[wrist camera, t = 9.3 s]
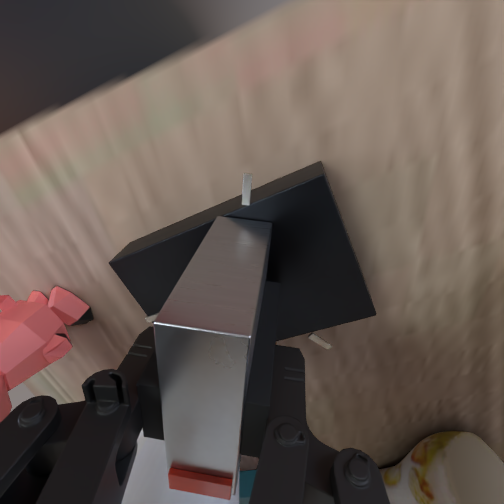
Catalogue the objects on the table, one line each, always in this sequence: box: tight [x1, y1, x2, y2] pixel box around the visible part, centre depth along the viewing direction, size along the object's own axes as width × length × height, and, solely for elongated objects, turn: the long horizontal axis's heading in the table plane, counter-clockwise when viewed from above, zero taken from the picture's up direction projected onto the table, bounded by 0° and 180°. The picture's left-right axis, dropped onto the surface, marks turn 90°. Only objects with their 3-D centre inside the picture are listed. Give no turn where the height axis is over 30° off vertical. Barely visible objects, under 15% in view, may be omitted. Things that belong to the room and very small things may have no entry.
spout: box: [153, 216, 272, 500], centre depth 13 cm, size 8×3×8 cm, turn 175°
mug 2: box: [379, 431, 504, 504], centre depth 22 cm, size 8×10×10 cm
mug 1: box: [121, 428, 239, 504], centre depth 22 cm, size 14×10×10 cm
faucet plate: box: [109, 161, 376, 350], centre depth 18 cm, size 12×11×3 cm
